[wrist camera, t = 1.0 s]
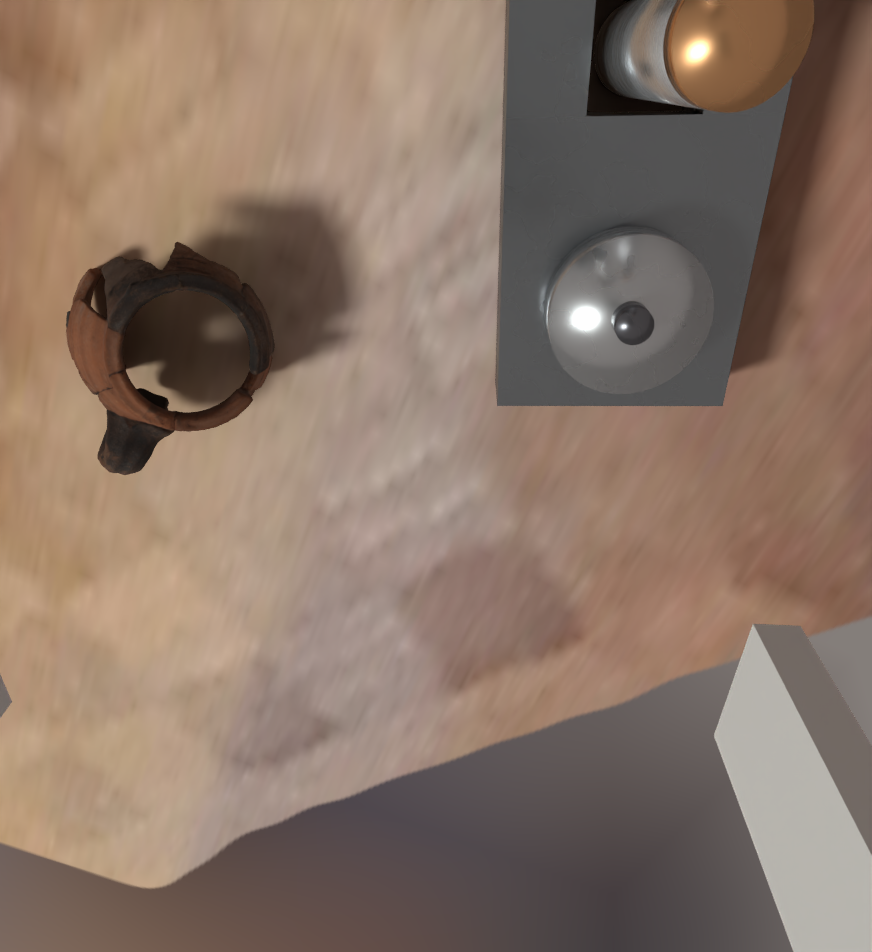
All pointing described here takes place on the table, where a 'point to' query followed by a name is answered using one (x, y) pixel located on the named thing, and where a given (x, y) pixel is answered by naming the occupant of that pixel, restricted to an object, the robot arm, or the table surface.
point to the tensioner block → (619, 229)
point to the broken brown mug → (101, 350)
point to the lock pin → (703, 50)
